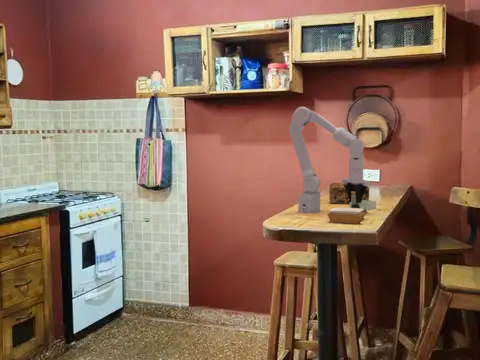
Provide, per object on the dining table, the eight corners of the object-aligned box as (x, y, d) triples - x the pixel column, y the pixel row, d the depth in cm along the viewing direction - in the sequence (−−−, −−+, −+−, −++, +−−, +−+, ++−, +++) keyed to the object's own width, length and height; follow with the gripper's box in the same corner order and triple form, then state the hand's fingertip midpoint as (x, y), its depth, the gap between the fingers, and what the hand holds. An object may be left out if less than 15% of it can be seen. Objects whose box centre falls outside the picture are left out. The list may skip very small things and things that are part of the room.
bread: (328, 204, 266) (329, 183, 265) (330, 201, 276) (330, 181, 275) (369, 205, 262) (369, 184, 261) (369, 202, 272) (369, 182, 271)
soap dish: (365, 221, 212) (366, 208, 212) (360, 225, 204) (360, 211, 203) (333, 219, 218) (333, 206, 217) (326, 223, 209) (327, 209, 208)
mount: (360, 217, 222) (360, 211, 222) (338, 215, 228) (338, 209, 228) (372, 214, 229) (372, 209, 229) (350, 212, 236) (350, 207, 236)
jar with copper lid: (362, 208, 228) (362, 191, 227) (354, 209, 226) (355, 191, 226) (355, 207, 231) (356, 190, 231) (348, 208, 229) (348, 191, 229)
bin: (367, 212, 236) (367, 202, 236) (349, 210, 242) (349, 201, 241) (375, 210, 243) (376, 200, 242) (358, 208, 248) (359, 199, 247)
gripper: (376, 169, 223) (375, 203, 224) (351, 167, 236) (351, 199, 237) (362, 170, 220) (361, 204, 221) (338, 168, 232) (338, 200, 233)
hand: (355, 202), depth 228 cm, fingers closed on jar with copper lid, 4 cm apart
